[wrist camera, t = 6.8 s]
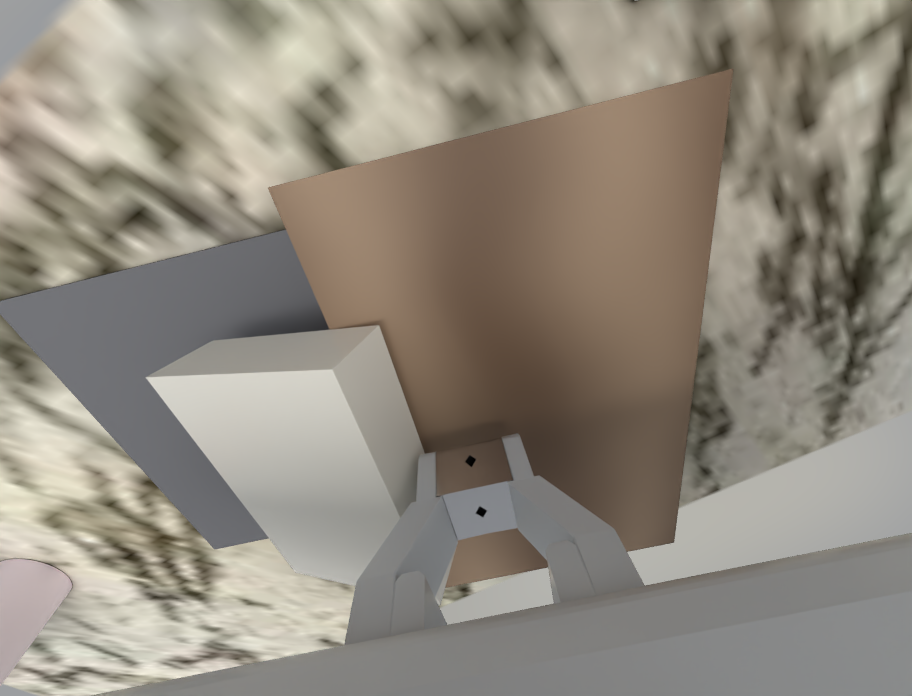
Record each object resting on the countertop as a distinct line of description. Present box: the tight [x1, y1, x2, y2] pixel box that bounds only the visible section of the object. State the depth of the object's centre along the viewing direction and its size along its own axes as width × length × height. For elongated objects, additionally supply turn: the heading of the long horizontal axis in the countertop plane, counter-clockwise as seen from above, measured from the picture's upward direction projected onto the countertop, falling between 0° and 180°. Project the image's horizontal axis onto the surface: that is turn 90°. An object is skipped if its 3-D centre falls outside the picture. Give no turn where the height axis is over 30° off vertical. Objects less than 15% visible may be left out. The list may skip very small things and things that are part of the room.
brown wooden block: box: [268, 69, 733, 588], centre depth 12 cm, size 10×16×4 cm, turn 12°
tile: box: [146, 325, 456, 605], centre depth 11 cm, size 6×9×2 cm, turn 13°
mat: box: [0, 230, 330, 549], centre depth 14 cm, size 12×14×1 cm
